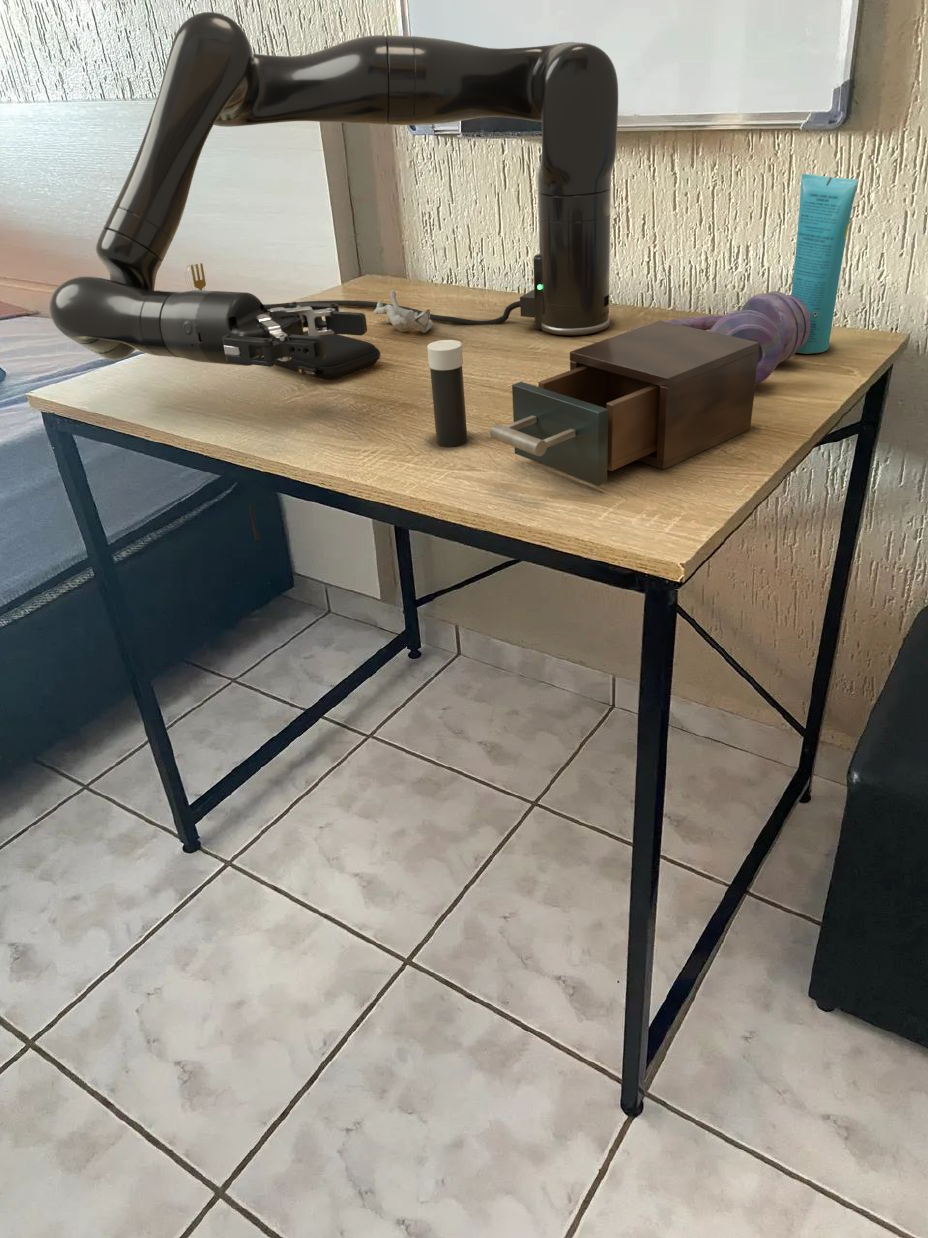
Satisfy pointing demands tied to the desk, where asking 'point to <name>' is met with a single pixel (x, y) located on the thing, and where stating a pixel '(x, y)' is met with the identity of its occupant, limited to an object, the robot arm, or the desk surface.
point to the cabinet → (684, 383)
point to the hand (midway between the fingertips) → (345, 336)
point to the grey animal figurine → (404, 316)
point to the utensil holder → (197, 283)
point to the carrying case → (336, 358)
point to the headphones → (762, 327)
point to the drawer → (583, 422)
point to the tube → (821, 251)
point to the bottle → (448, 392)
